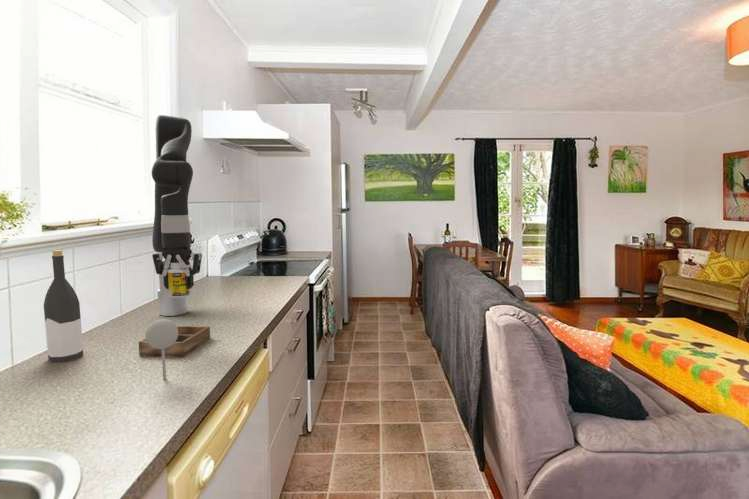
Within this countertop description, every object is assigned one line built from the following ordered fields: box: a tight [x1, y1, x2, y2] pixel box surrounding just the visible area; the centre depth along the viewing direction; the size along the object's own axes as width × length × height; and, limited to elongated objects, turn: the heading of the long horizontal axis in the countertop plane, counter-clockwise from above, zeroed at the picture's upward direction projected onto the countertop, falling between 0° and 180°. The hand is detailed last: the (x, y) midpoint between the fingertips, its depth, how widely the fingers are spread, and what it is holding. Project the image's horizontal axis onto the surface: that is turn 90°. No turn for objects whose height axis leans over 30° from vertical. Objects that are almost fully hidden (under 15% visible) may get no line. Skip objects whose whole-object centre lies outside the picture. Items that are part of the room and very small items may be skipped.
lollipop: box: [145, 318, 178, 381], centre depth 104 cm, size 7×7×15 cm
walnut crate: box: [138, 325, 211, 358], centre depth 128 cm, size 13×16×4 cm
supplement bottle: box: [168, 263, 191, 298], centre depth 125 cm, size 6×6×10 cm
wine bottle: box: [43, 249, 84, 363], centre depth 118 cm, size 8×8×30 cm
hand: (179, 288), depth 126 cm, fingers closed on supplement bottle, 5 cm apart
